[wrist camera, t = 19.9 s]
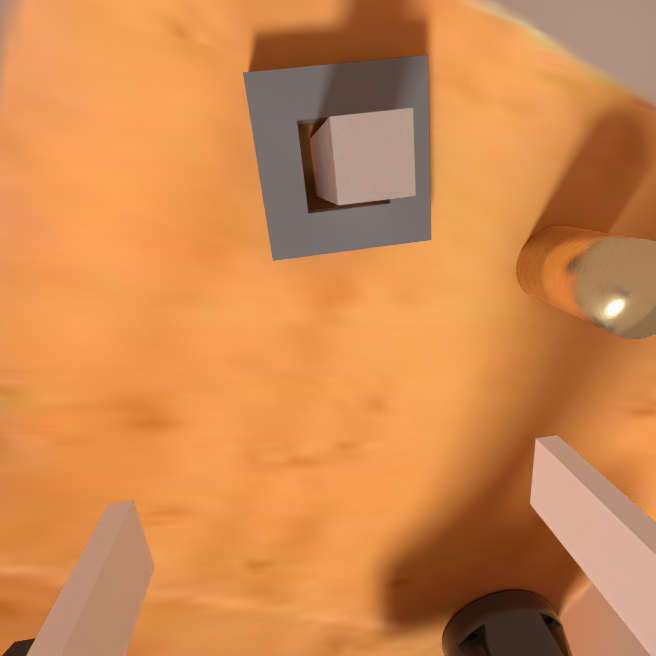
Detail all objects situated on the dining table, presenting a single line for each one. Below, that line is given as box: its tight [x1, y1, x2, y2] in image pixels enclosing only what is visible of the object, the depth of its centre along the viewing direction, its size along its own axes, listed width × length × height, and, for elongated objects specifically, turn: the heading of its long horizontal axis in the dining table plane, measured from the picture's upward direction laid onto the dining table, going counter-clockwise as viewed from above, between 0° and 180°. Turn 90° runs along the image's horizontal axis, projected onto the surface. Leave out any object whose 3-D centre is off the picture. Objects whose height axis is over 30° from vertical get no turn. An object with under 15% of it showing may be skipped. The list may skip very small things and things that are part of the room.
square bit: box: [310, 108, 416, 205], centre depth 25 cm, size 4×4×12 cm
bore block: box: [243, 55, 431, 261], centre depth 30 cm, size 12×12×3 cm
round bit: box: [517, 225, 656, 339], centre depth 31 cm, size 6×6×10 cm
